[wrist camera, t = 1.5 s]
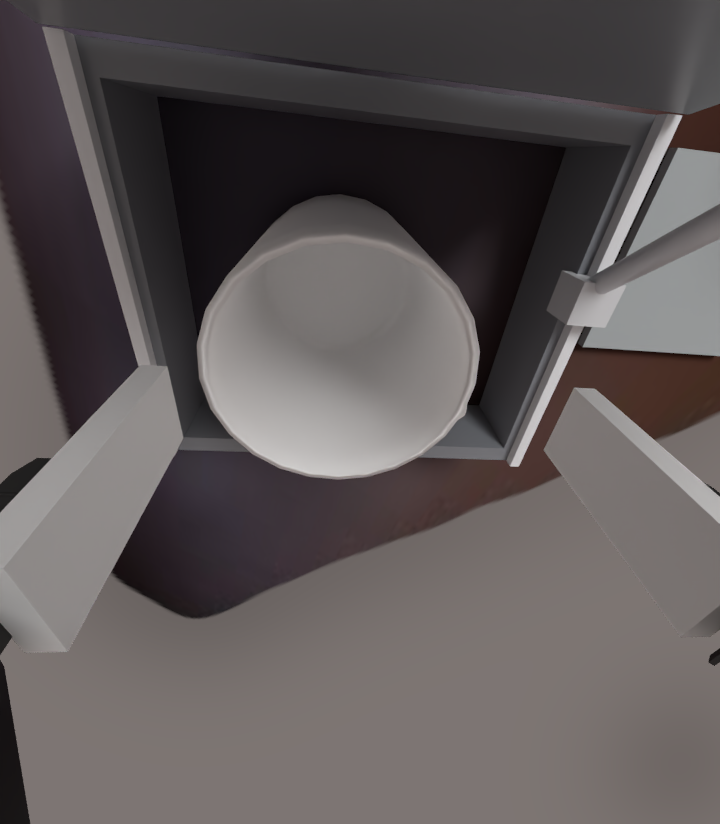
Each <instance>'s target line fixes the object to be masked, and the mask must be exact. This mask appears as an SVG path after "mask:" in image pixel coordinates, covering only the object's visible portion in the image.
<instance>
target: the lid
mask: <svg viewBox="0 0 720 824" xmlns="http://www.w3.org/2000/svg"><path fill="white" fill-rule="evenodd" d="M6 1H8V2H9V3H10V4H12V5H13V6H14V7H16V8H17V9H19V10H20V11H21V12H23V13H24V14H25V15H27V16H28V17H29V18H31V19H32V20H33V21H35V22H36V23H39V24H46V25H53V26H60V27H67V28H74V29H82V30H89V31H96V32H103V33H110V34H117V35H124V36H132V37H139V38H146V39H153V40H160V41H167V42H174V43H182V44H189V45H196V46H203V47H210V48H217V49H224V50H232V51H239V52H246V53H253V54H260V55H267V56H274V57H281V58H289V59H296V60H303V61H310V62H317V63H324V64H331V65H339V66H346V67H353V68H360V69H367V70H374V71H381V72H389V73H396V74H403V75H410V76H417V77H424V78H431V79H439V80H446V81H453V82H460V83H467V84H474V85H481V86H489V87H496V88H503V89H510V90H517V91H524V92H531V93H538V94H546V95H553V96H560V97H567V98H574V99H581V100H588V101H596V102H603V103H610V104H617V105H624V106H631V107H638V108H646V109H653V110H660V111H667V112H674V113H681V114H688V115H689V114H691V113H694V112H697V111H700V110H703V109H706V108H708V107H711V106H714V105H717V104H720V0H6Z"/></svg>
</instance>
